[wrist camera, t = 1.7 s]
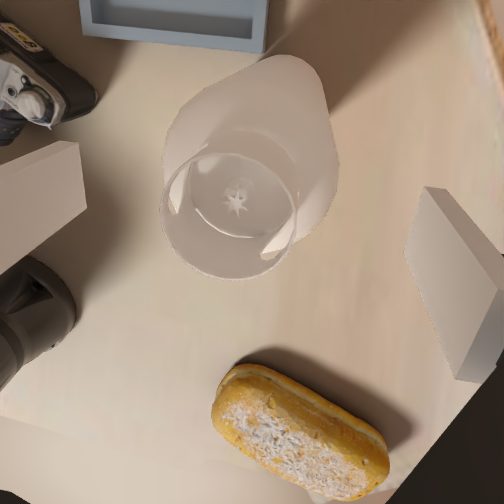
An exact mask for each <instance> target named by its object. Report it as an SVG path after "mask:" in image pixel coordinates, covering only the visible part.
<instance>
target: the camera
mask: <svg viewBox="0 0 504 504" xmlns="http://www.w3.org/2000/svg"><path fill="white" fill-rule="evenodd" d="M97 98H98V94H97V92H96V90H95V89H94V88H93V87H92V86H91V84H90V83H89V82H88V81H87V80H85V79H84V78H83V77H81V76H80V75H79V74H78V73H76V72H75V71H74V70H73V69H71V68H70V67H69V66H68V65H67V64H66V63H64V62H63V61H61V60H60V59H59V58H57V57H56V56H55V55H54V54H52V53H51V52H50V51H49V50H48V49H47V48H45V47H44V46H42V45H41V44H39V43H38V42H37V41H36V40H35V39H33V38H32V37H31V36H30V35H29V34H28V33H27V32H25V31H24V30H23V29H22V28H20V27H19V26H18V25H16V24H14V22H12V21H11V20H9V18H8V17H7V16H5V15H3V14H2V13H0V146H6V145H9V144H10V143H12V142H13V140H14V138H15V137H17V136H18V135H19V134H20V132H21V130H22V128H23V126H24V125H25V123H26V122H27V121H28V120H29V121H31V122H33V123H36V124H39V125H43V126H47V127H48V128H49V129H50V130H52V129H53V127H54V126H55V125H56V124H57V123H59V122H66V121H70V120H73V119H76V118H79V117H81V116H84V115H86V114H88V113H90V112H91V111H92V110H93V108H94V105H95V103H96V101H97Z"/></svg>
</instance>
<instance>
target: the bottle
mask: <svg viewBox="0 0 504 504" xmlns="http://www.w3.org/2000/svg"><path fill="white" fill-rule="evenodd" d="M162 163H163V172H164V181H165V188H164V189H163V194H162V198H161V203H160V208H159V210H160V218H161V226H162V230H163V232H164V234H165V236H166V239H167V241H168V243H169V245H170V247H171V248H172V249H173V250H174V251H175V253H176V254H177V255H178V256H179V257H180V258H181V259H182V261H183V262H185V263H186V264H188V265H189V266H191V267H192V268H194V269H195V270H197V271H198V272H200V273H202V274H205V275H208V276H211V277H213V278H216V279H219V280H233V281H241V280H246V279H251V278H256V277H259V276H261V275H263V274H265V273H267V272H268V271H270V270H272V269H274V268H276V266H277V265H278V264H279V263H280V262H281V261H282V260H283V259H284V258H285V257H286V256H287V254H288V253H289V251H290V249H291V246H292V244H293V243H295V242H296V241H298V240H300V239H302V238H303V237H305V236H307V235H308V234H309V233H310V232H311V231H312V230H313V229H314V228H315V227H316V226H317V225H318V224H319V222H320V221H321V220H322V219H323V218H324V217H325V216H326V214H327V212H328V210H329V207H330V205H331V203H332V201H333V199H334V196H335V194H336V192H337V184H338V174H339V165H340V164H339V159H338V154H337V150H336V145H335V141H334V136H333V131H332V127H331V122H330V118H329V113H328V108H327V104H326V99H325V95H324V90H323V86H322V82H321V80H320V78H319V76H318V75H317V73H316V71H315V70H314V68H313V67H311V66H310V65H309V64H308V63H307V62H305V61H304V60H303V59H300V58H297V57H295V56H292V55H274V56H271V57H268V58H266V59H263V60H261V61H259V62H257V63H255V64H253V65H251V66H249V67H247V68H245V69H243V70H241V71H239V72H237V73H235V74H233V75H231V76H229V77H227V78H225V79H223V80H221V81H219V82H217V83H215V84H213V85H211V86H209V87H207V88H205V89H203V90H202V91H201V92H200V93H198V94H197V95H196V96H195V97H194V98H192V99H191V100H190V101H189V102H187V103H186V104H185V105H184V106H183V107H182V108H181V109H180V111H179V113H178V114H177V116H176V118H175V119H174V121H173V123H172V124H171V126H170V128H169V130H168V131H167V136H166V141H165V146H164V150H163V155H162ZM168 197H170V199H171V201H172V203H173V206H174V208H175V210H176V212H177V213H178V214H175V215H173V214H172V213H171V212H170V211H169V208H168V204H167V202H168ZM280 249H283V250H282V251H281V252H280V253H279V254H278V255H277V256H276V257H275V258H274V259H271V260H268V261H266V260H261V258H260V254H263V253H267V252H271V251H276V250H280Z"/></svg>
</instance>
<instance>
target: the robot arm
mask: <svg viewBox="0 0 504 504" xmlns="http://www.w3.org/2000/svg"><path fill="white" fill-rule="evenodd" d="M85 209H87V204H86V197H85V189H84V181H83V173H82V165H81V158H80V150H79V143H77V142H69V141H61V140H60V141H57V142H55V143H52V144H50V145H48V146H45V147H43V148H40V149H38V150H36V151H33V152H31V153H28V154H26V155H24V156H21V157H19V158H16V159H14V160H12V161H9V162H7V163H5V164H2V165H0V392H1V390H2V389H3V388H4V387H5V386H6V385H7V383H8V382H9V381H10V380H11V379H12V378H13V376H14V375H15V374H16V373H17V372H18V371H19V370H20V368H21V367H22V366H23V365H25V364H27V363H28V362H30V361H32V360H33V359H35V358H36V357H38V356H39V355H40V354H41V353H43V352H46V351H48V350H50V349H52V348H54V347H55V346H57V345H58V344H59V343H60V342H61V341H62V340H63V339H64V338H65V337H66V335H67V334H68V333H69V332H70V331H71V329H72V327H73V325H74V323H75V318H76V309H75V304H74V301H73V298H72V296H71V294H70V292H69V290H68V288H67V287H66V285H65V284H64V283H63V282H62V280H61V279H60V278H59V277H58V276H57V275H56V274H55V273H54V272H53V271H52V270H50V269H49V268H48V267H46V266H45V265H43V264H42V263H40V262H39V261H37V260H35V259H33V258H31V257H28V256H26V255H27V254H28V253H29V252H31V251H32V250H33V249H35V248H36V247H37V246H38V245H40V244H41V243H42V242H44V241H45V240H46V239H48V238H49V237H50V236H52V235H53V234H54V233H55V232H57V231H58V230H59V229H61V228H62V227H63V226H65V225H66V224H67V223H68V222H70V221H71V220H72V219H74V218H75V217H76V216H78V215H79V214H80V213H82V212H83V211H84V210H85ZM403 253H404V255H405V258H406V260H407V263H408V265H409V267H410V270H411V272H412V275H413V277H414V280H415V282H416V285H417V287H418V290H419V292H420V294H421V297H422V299H423V302H424V304H425V307H426V309H427V312H428V314H429V317H430V319H431V321H432V324H433V326H434V329H435V331H436V334H437V336H438V339H439V341H440V344H441V346H442V348H443V351H444V353H445V356H446V358H447V361H448V363H449V366H450V368H451V371H452V373H453V375H454V378H455V379H456V380H462V381H469V382H475V383H481V384H482V385H481V387H480V388H479V389H478V390H477V392H476V393H475V394H474V395H473V396H472V398H471V399H470V400H469V401H468V403H467V404H466V405H465V406H464V408H463V409H462V410H461V411H460V412H459V414H458V415H457V416H456V417H455V419H454V420H453V421H452V422H451V424H450V425H449V426H448V427H447V429H446V430H445V431H444V432H443V433H442V435H441V436H440V437H439V438H438V440H437V441H436V442H435V443H434V445H433V446H432V447H431V448H430V450H429V451H428V452H427V453H426V454H425V456H424V457H423V458H422V459H421V461H420V462H419V463H418V464H417V466H416V467H415V468H414V469H413V471H412V472H411V473H410V474H409V475H408V477H407V478H406V479H405V480H404V482H403V483H402V484H401V485H400V487H399V488H398V489H397V490H396V492H395V493H394V494H393V495H392V496H391V498H390V499H389V500H388V501H387V502H386V503H385V504H504V254H500V252H499V251H498V250H497V249H496V248H495V246H494V245H493V244H492V243H491V242H490V241H489V239H488V238H487V237H486V236H485V235H484V234H483V232H482V231H481V230H480V229H479V228H478V226H477V225H476V224H475V223H474V222H473V221H472V219H471V218H470V217H469V216H468V215H467V213H466V212H465V211H464V210H463V209H462V208H461V206H460V205H459V204H458V203H457V202H456V200H455V199H454V198H453V197H452V196H451V195H450V193H449V192H448V191H447V190H446V189H440V188H432V187H425V186H424V189H423V192H422V195H421V198H420V202H419V205H418V208H417V211H416V214H415V217H414V221H413V224H412V227H411V230H410V233H409V236H408V240H407V243H406V246H405V249H404V252H403ZM496 366H497V367H496ZM0 504H30V503H28V502H27V501H25V500H23V499H22V498H20V497H18V496H16V495H15V494H13V493H12V492H8V491H4V490H0Z"/></svg>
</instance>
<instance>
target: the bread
mask: <svg viewBox="0 0 504 504" xmlns="http://www.w3.org/2000/svg"><path fill="white" fill-rule="evenodd" d="M211 418H212V422H213V426H214V427H215V429H216V431H217V432H219V433H220V434H221V435H222V436H223V437H224V438H225V439H226V440H227V441H228V442H229V443H231V444H232V445H233V446H234V447H236V448H237V449H238V450H240V451H241V452H243V453H244V454H246V455H247V456H249V457H251V458H252V459H254V460H255V461H256V462H257V463H259V464H261V465H263V466H264V467H266V468H267V469H268V470H271V471H273V472H275V473H276V474H278V475H279V476H282V477H284V478H285V479H286V480H289V481H291V482H292V483H295V484H298V485H300V486H302V487H304V488H306V489H308V490H311V491H314V492H317V493H320V494H322V495H324V496H327V497H330V498H333V499H337V500H340V501H352V500H356V499H359V498H361V497H363V496H365V495H367V494H368V493H369V492H371V491H372V490H373V489H374V488H376V487H377V486H378V485H380V484H381V483H382V482H383V481H384V480H385V479H386V478H387V476H388V474H389V471H390V461H389V456H388V450H387V445H386V443H385V441H384V439H383V437H382V436H381V434H380V433H379V432H378V431H377V430H376V429H375V428H373V427H372V426H371V425H369V424H367V423H366V422H365V421H363V420H362V419H359V418H357V417H355V416H352V415H351V414H350V413H348V412H347V411H345V410H343V409H342V408H340V407H339V406H337V405H335V404H333V403H331V402H329V401H328V400H326V399H324V398H323V397H321V396H320V395H318V394H317V393H315V392H314V391H312V390H310V389H309V388H307V387H305V386H303V385H301V384H299V383H298V382H296V381H294V380H292V379H291V378H289V377H287V376H285V375H284V374H281V373H278V372H276V371H275V370H272V369H269V368H268V367H266V366H263V365H259V364H251V363H246V364H240V365H238V366H235V367H234V368H233V369H231V370H230V371H229V372H228V373H227V374H226V375H225V377H224V378H223V380H222V381H221V383H220V385H219V387H218V389H217V393H216V398H215V402H214V404H213V405H212V412H211Z"/></svg>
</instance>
